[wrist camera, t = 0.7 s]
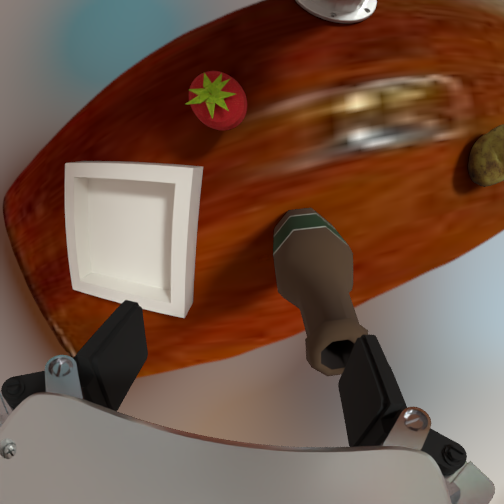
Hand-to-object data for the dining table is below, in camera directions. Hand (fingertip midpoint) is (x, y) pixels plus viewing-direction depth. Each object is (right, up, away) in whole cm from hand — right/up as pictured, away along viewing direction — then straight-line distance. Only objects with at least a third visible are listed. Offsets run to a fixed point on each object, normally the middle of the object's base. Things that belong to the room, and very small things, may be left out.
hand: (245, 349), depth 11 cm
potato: (+37, +20, +18) cm, 46 cm away
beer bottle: (+7, +6, +25) cm, 27 cm away
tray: (-17, +7, +27) cm, 32 cm away
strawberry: (-3, +22, +20) cm, 30 cm away
